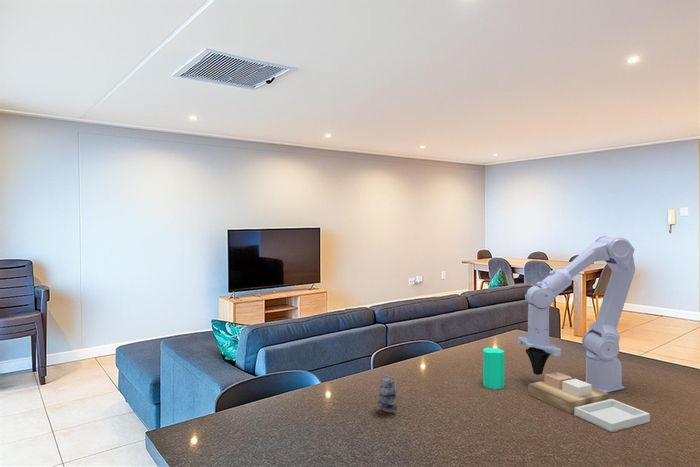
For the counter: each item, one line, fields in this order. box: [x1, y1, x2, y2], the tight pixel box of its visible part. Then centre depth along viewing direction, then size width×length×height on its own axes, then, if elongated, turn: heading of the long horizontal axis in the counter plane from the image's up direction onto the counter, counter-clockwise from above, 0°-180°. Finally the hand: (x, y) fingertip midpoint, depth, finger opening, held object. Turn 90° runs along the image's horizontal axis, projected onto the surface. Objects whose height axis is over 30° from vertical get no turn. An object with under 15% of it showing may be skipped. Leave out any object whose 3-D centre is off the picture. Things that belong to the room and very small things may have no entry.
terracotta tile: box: [544, 371, 573, 389], centre depth 126 cm, size 5×5×2 cm
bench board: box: [527, 380, 610, 415], centre depth 123 cm, size 14×14×3 cm
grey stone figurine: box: [376, 374, 398, 413], centre depth 115 cm, size 5×5×10 cm
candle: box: [482, 347, 505, 390], centre depth 134 cm, size 6×6×12 cm
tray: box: [574, 398, 651, 433], centre depth 111 cm, size 14×10×2 cm
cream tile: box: [562, 378, 592, 397], centre depth 120 cm, size 5×5×2 cm
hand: (537, 373), depth 133 cm, fingers closed
